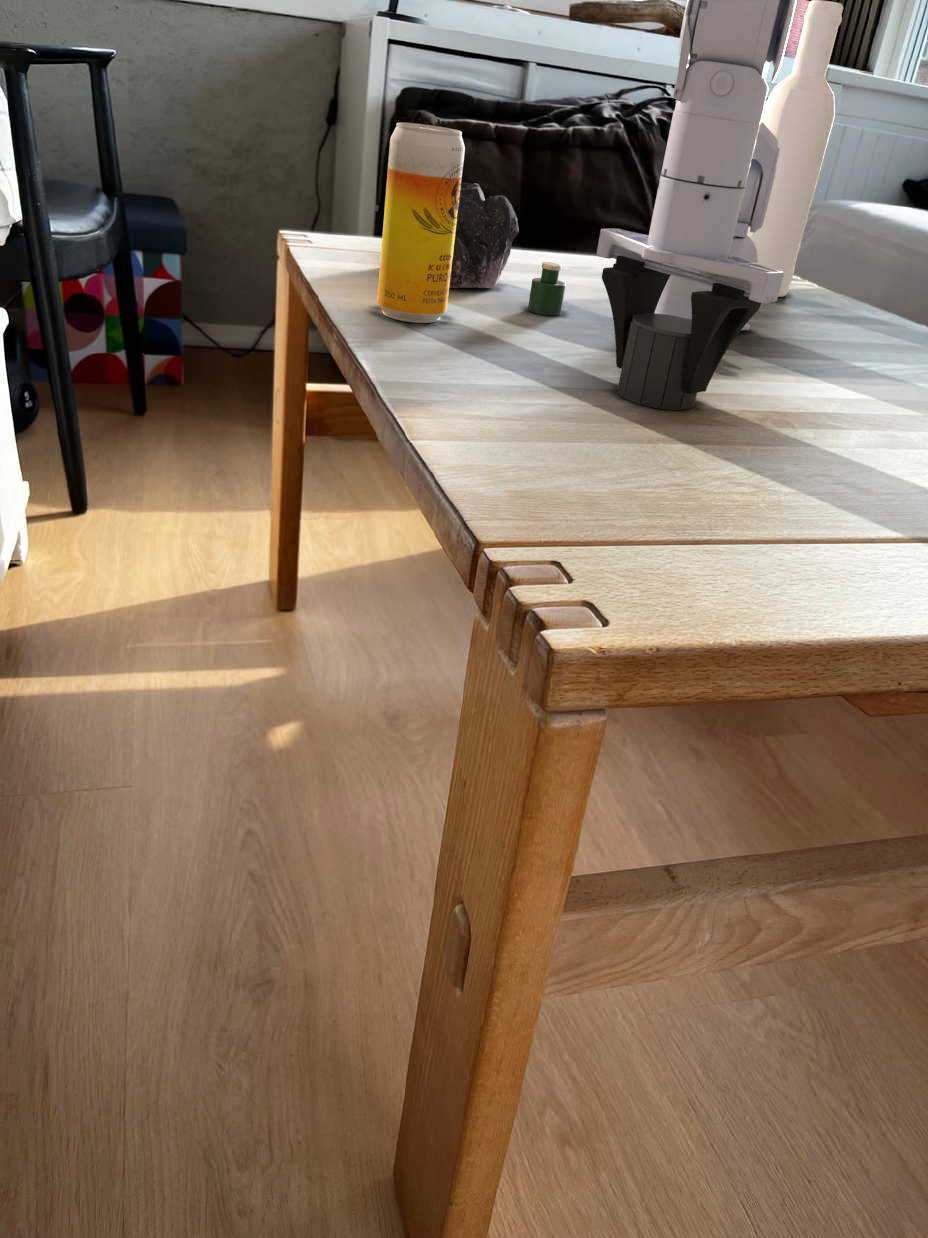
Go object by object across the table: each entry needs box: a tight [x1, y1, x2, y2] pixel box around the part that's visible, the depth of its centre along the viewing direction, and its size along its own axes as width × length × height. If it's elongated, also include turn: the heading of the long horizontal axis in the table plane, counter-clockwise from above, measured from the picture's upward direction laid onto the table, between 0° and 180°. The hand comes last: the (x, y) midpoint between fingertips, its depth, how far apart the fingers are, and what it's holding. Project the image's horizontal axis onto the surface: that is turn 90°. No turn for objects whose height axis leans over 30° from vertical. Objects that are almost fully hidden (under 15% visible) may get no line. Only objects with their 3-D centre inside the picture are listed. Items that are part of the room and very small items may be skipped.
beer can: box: [376, 122, 466, 324], centre depth 86 cm, size 6×6×15 cm
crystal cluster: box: [449, 182, 520, 289], centre depth 104 cm, size 13×14×10 cm
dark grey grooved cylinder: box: [616, 313, 698, 411], centre depth 75 cm, size 6×6×6 cm
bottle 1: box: [527, 261, 567, 317], centre depth 97 cm, size 3×3×4 cm
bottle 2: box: [747, 0, 844, 298], centre depth 116 cm, size 8×8×30 cm
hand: (659, 378), depth 76 cm, fingers closed on dark grey grooved cylinder, 5 cm apart
